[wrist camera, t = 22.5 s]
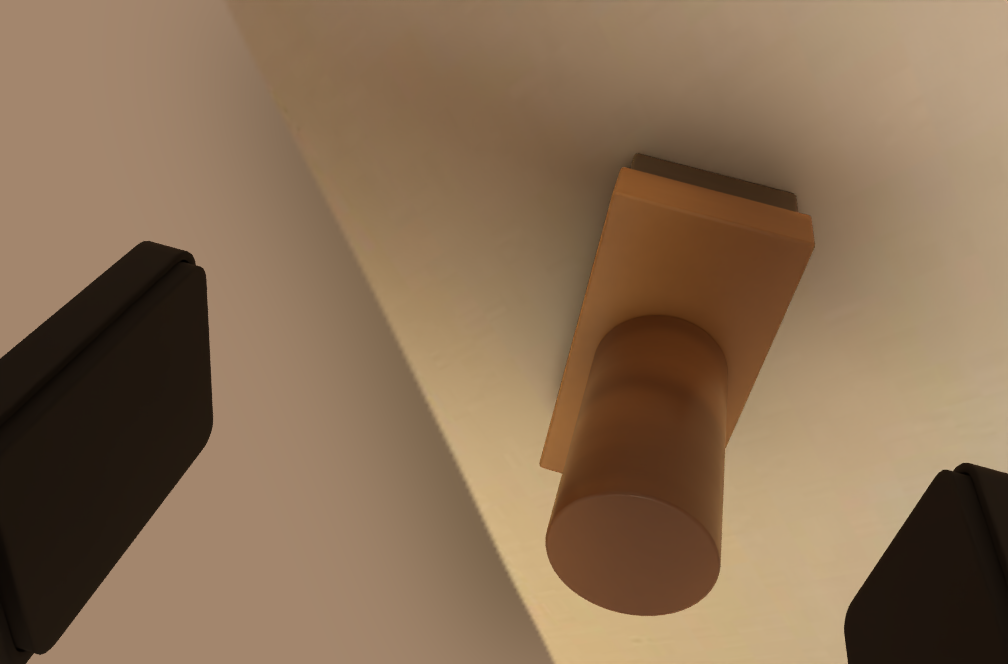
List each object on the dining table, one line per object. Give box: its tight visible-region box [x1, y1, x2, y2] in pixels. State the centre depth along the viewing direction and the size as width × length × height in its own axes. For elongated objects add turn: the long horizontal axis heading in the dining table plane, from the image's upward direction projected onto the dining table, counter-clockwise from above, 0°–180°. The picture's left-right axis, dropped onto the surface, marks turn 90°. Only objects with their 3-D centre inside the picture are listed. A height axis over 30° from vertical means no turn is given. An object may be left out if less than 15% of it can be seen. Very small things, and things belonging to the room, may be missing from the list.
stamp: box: [540, 154, 815, 616], centre depth 19 cm, size 4×8×9 cm, turn 170°
